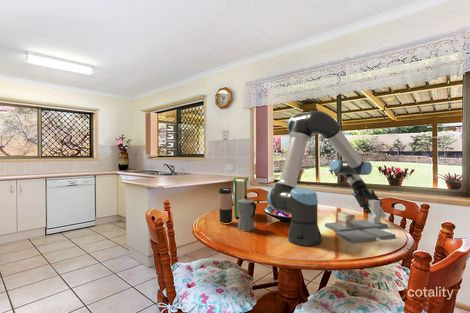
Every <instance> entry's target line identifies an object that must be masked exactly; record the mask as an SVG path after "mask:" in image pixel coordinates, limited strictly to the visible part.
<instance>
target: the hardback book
mask: <svg viewBox="0 0 470 313" xmlns="http://www.w3.org/2000/svg"><path fill="white" fill-rule="evenodd" d="M232 183H233V214H235V215H234V218H235V217H240V214H239V210H238V204H237V201H238V200H241V199H245V198H244V196H245V195H246V196H247V195H248V194H247V191H248V190H247V188H248V187H247V179H246V178H245V177H233V182H232ZM247 197H248V196H247Z"/></svg>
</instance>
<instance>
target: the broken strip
mask: <svg viewBox="0 0 470 313" xmlns="http://www.w3.org/2000/svg"><path fill="white" fill-rule="evenodd" d="M335 236H336V237H338V238H340V239H343V240H345V241H346V242H349V243H351V244H355V243H356V244H357V243H363V242H364V243H365V242H372V241H373V242H374V241H377V239H378V240H389V239H394V238H395V239H396V234H394V233H392V232H390V231H386V230H383V229H382V228H371V229H363V230H353V231H344V232H337V231H335Z"/></svg>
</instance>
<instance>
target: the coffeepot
mask: <svg viewBox="0 0 470 313" xmlns="http://www.w3.org/2000/svg"><path fill="white" fill-rule="evenodd" d="M244 198H245V199H241V200H238V201H237V204H238V210H239V214H240V217H239V218H238V223H237V230H238V229H240V230H244V231H243V232H249V231H248V230H252V231H254V230H255V229H256V228H255V223H254V218H255V215H256V210H257V204H256V202H255V201H254V200H253V199H249V198H248V196H246V195H245V196H244ZM253 229H254V230H253ZM240 230H239V231H240Z"/></svg>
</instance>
